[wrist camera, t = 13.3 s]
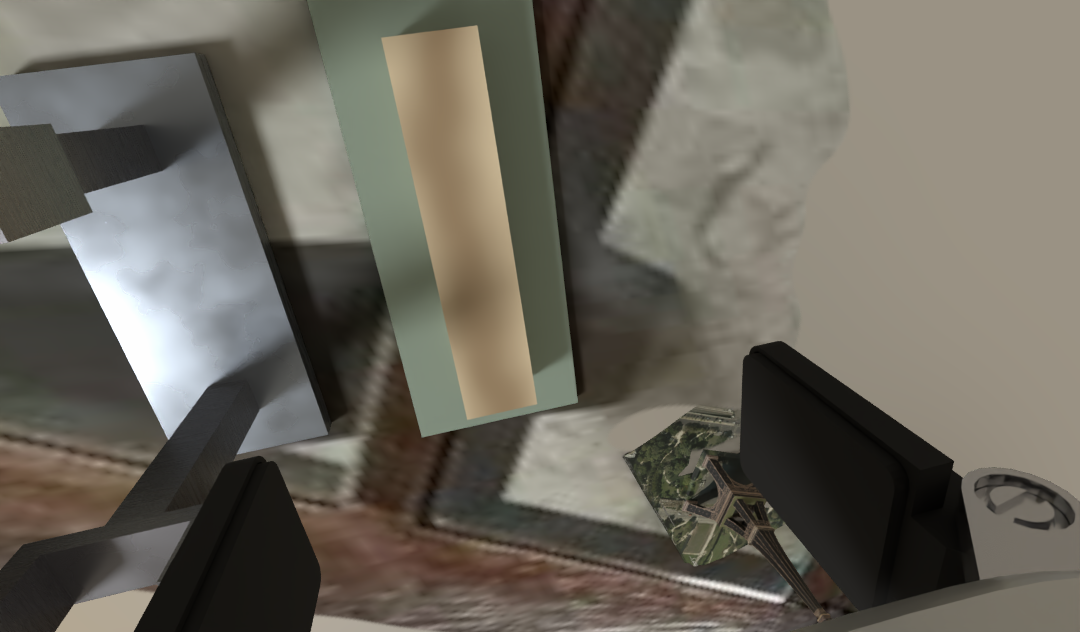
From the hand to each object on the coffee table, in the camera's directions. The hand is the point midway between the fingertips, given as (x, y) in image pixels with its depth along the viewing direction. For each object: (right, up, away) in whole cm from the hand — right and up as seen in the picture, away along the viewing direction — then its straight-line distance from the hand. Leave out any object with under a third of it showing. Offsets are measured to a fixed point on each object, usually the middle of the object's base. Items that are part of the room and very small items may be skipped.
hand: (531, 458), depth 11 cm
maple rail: (-4, +7, +18) cm, 20 cm away
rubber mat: (-4, +7, +19) cm, 20 cm away
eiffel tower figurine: (+13, -10, +30) cm, 35 cm away
